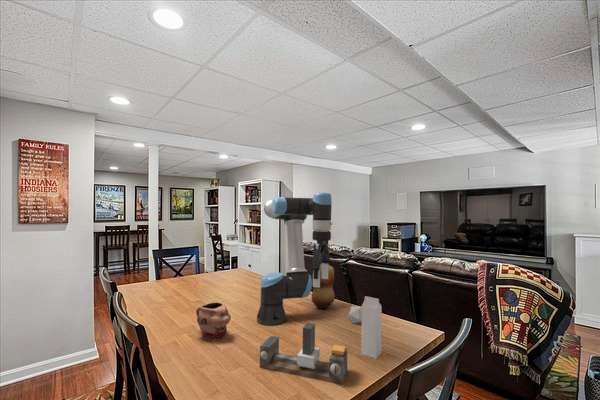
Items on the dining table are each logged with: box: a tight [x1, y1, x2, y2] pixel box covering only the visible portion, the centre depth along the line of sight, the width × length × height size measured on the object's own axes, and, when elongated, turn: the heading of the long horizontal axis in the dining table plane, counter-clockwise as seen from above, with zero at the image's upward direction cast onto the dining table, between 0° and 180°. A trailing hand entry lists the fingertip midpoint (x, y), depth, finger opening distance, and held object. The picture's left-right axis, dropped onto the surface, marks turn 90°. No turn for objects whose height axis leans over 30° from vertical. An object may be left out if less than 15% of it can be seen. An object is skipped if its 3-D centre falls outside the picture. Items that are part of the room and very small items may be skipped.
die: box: [348, 305, 362, 324], centre depth 146 cm, size 8×9×10 cm
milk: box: [361, 295, 383, 360], centre depth 114 cm, size 6×6×22 cm
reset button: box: [331, 344, 346, 357], centre depth 98 cm, size 4×4×4 cm
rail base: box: [259, 335, 348, 385], centre depth 102 cm, size 30×10×8 cm, turn 71°
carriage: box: [296, 322, 321, 369], centre depth 101 cm, size 6×8×13 cm
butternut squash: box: [310, 263, 335, 309], centre depth 169 cm, size 14×13×25 cm
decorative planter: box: [195, 302, 232, 341], centre depth 128 cm, size 20×12×14 cm, turn 65°
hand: (320, 282), depth 116 cm, fingers open, 13 cm apart
